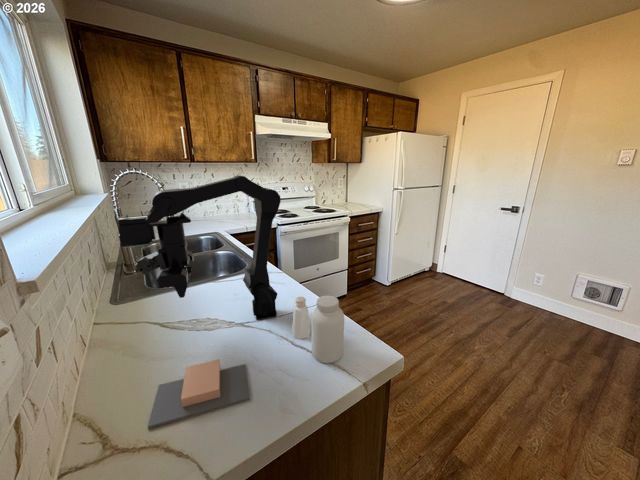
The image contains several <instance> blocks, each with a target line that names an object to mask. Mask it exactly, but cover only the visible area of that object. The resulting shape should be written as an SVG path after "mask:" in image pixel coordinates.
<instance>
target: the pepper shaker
mask: <svg viewBox="0 0 640 480" xmlns="http://www.w3.org/2000/svg"><path fill="white" fill-rule="evenodd" d="M306 300H307V299H306V297H304V296H297V297H296V298H295V305H294V307H293V314H292V315H293V317H292V327H291V335H292V336H293V338H295V339H298V340H305V339H307V338H309V336H310V335H312V328H311V323H310V322H311V321H310V316H309V309H308V306H307V304H306Z"/></svg>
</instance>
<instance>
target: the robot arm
mask: <svg viewBox="0 0 640 480" xmlns="http://www.w3.org/2000/svg"><path fill="white" fill-rule="evenodd" d="M239 192H242V193H243V194H244V195H246V196H248V197H250V198H251V199H253V202H254V210H255V216H256V222H255V223H256V225H255V234H254V242H253V251H252V258H251V259H252V260H251V265H250V266H249V268H244V276H243V279H242V281H243V282H244V285H245V287H246V288H247V290H248V291H249V292H250V294H251V295H252V296H253V299H252V300H251V302H252V303H251V304H252V312H253V316H255V319H256V320H257V321H259V320H263V319H264V320H265V319H269V318H274V317H277V316H278V313H277V309H276V308H277V307H276V300H277V297H278V292H276V289H274V288H273V286H272V285H270V276H269V271H268V259H269V253H270V252H269V251H270V246H271V244H270V243H271V237H272V227H273V221H274V219H275V217H276V216H277V214H278V213H279V208H280V205H281V202H282V199H281V195H280V194H279V192H278V191H276V190H275V189H271V188H268V187H263V186H262V185H259V184H258V183H256V182H253V181H252V180H251V179H248V178H247V177H246V176H244V175H235V176H233V177H230V178H226V179H222V180H218V181H213V182H209V183H205V184H202V185H198V186H194V187H189V188H188V187H187V188H170V189H161V190H159V191H157V192H155V193H154V195H153V197H152V202H151V205H152V207H151V209H150V210H149V211H147V212H146V216H144V217H143V216H140V217H131V218H130V217H120V218H119V219H118V220H117V222H118V234H119V235H118V238H119V239H118V240H119V242H120V246H121V248H122V249H125V248H132V247H133V248H135V247H140V246H149V245H152V243H153V241H154V240H156V231H155V227H156V230H157V234H158V235H157V236H158V240H159V244H160V245H159V247H158V249H157V251H155V252H152V253H150V254H148V255H146V256H143V257H141V258H138V260H137V261H136V263H135V264H134V267H135V270H136V272H138V273H140V274H141V275H143V276H145V275H147V274H149V273H150V272H151V271H154V270H157V269H158V268H160V271H161V270H162V271H161V272H160V273H159V274H158V275H157V278H156V279H155V283H156V284H155V285H156V288H157V289H159V290H160V289H166V288H172V287H173V288H174V290H175V291H176V294H177V295H178V297H179V298H180V299H181V298H185V296H186V293H187V288H188V284H189V280H190V277H191V273H192V269H193V267H192V266H189V263H194V262H195V261H194V259H195V256H194V255H195V254H194V252H192V251H191V250H188V248H187V247H188V241H187V240H186V235H185V228H184V227H185V226H184V224H188V223H189V224H190V223H191V222H192V220H191V218H190V217H189V216H187V215H186V214H185V213H184V211H186V210H187V209H189V208H191V207H193V206H194V205H197V204H199V203H204V202H207V201H209V200H210V201H211V200H214V199H218V198H221V197H224V196H225V197H226V196H228V195H232V194H234V193H235V194H236V193H239ZM179 213H180V214H179ZM177 214H179V215H177ZM163 218H166V219H165V220H162V219H163Z"/></svg>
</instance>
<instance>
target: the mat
mask: <svg viewBox="0 0 640 480" xmlns="http://www.w3.org/2000/svg"><path fill="white" fill-rule="evenodd" d="M247 375H248V374H247V369H246V363H243V364H240V365H236V366H231V367H227V368H224V369H223V368H221V369H220V397H218V398H215V399H211V400H207V401H204V402H200V403H196V404H193V405H189V406H185V407H182V403H181V395H182V389H183V383H184V378H181V379H177V380H174V381H168V382H165V383H161V384H159V385H158V388H157V391H156V395H155V399H154V402H153V407H152V409H151V413H150V418H149V419H148V423H147V430H148V429H153V428H157V427H160V426H165V425H167V424H171V423H174V422H177V421H181V420H184V419H188V418H191V417H195V416H199V415H202V414H205V413H209V412H212V411H216V410H219V409H223V408H226V407H230V406H233V405H236V404H237V405H238V404H240V403H243V402H249V401H250V393H249V386H248V385H249V384H248V377H247Z"/></svg>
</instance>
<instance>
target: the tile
mask: <svg viewBox="0 0 640 480" xmlns="http://www.w3.org/2000/svg"><path fill="white" fill-rule="evenodd" d="M220 361H221V360H220V359H215V360H209V361H206V362H202V363H199V364H198V363H197V364H193V365H188V366H186V367H185V372H184V378H183V379H184V383H183V389H182V395H181V403H182V407H185V406H189V405H193V404H196V403H200V402H204V401H207V400H211V399H215V398H218V397H220V370H221V362H220Z"/></svg>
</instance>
